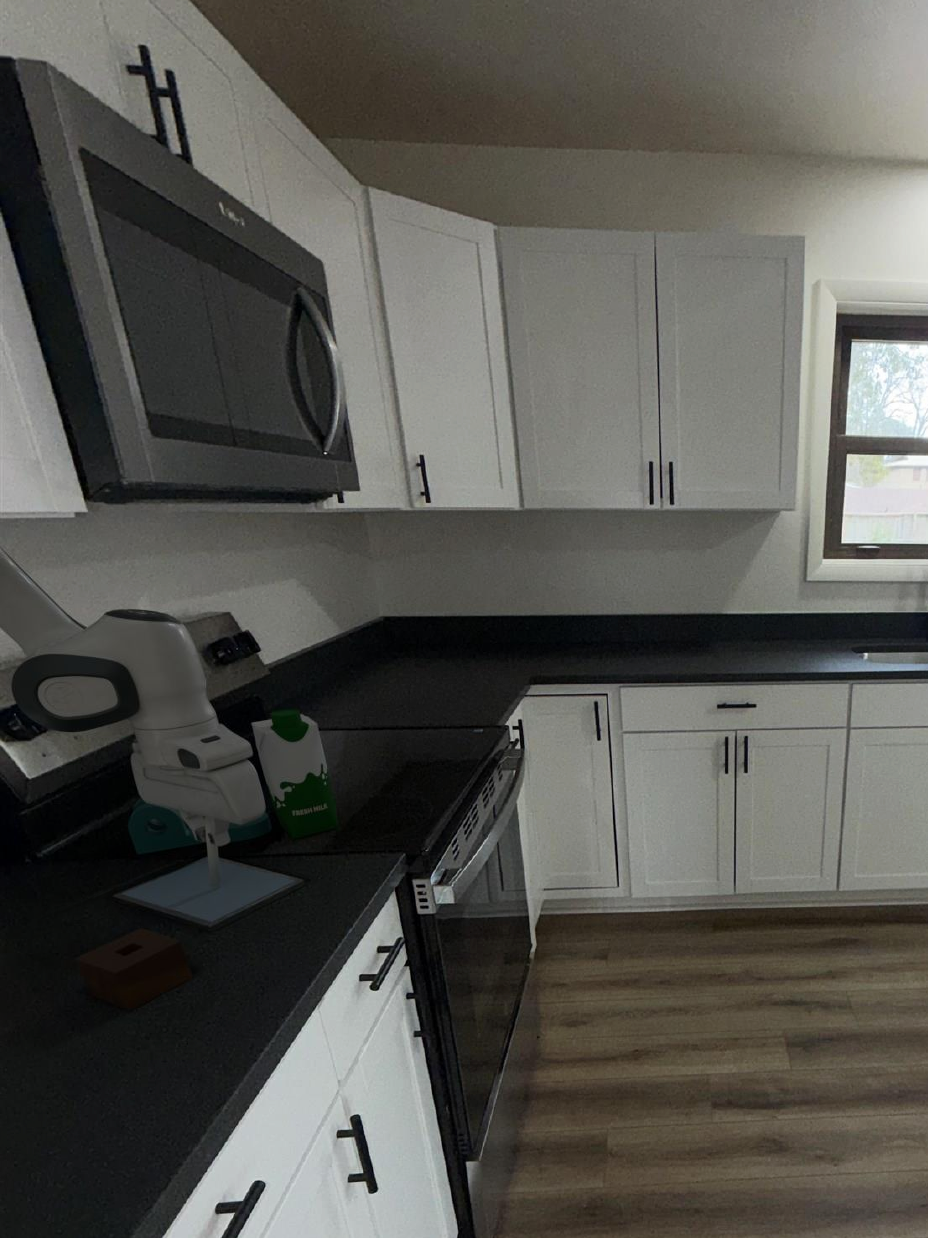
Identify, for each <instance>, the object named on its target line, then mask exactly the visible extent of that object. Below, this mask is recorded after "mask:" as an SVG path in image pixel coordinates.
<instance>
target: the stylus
mask: <svg viewBox="0 0 928 1238" xmlns="http://www.w3.org/2000/svg"><path fill="white" fill-rule="evenodd" d="M204 819H205V830H206V842H207V843H206V851H207V856H208V865H209V877H210V886H211V888H213V889H218V888H219V887H220V885H221V883H220V870H219V858H220V857H219V846H217V845H213V844H211V843H210V839H209V837H208V834H207V833H210V832H211V825H212V824H210V823H208V820H207V817H204Z"/></svg>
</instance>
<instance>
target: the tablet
mask: <svg viewBox="0 0 928 1238" xmlns="http://www.w3.org/2000/svg"><path fill="white" fill-rule="evenodd" d="M219 870H220V883H221V885H220V887H219V888H218V889H213V888H211V886H210V877H209V865H208V855H207V856H205V857H203V858H200V859H198V860H196V861H193V862H190V863H188V864H186V865H184V866H181V867H179V868H176V869H173V870H171V871H168V872H167V873H164V874H161V875H159V876H157V877H154V878H152V879H150V880H147V881H145V882H142V883H140V884H138V885H135V886H133V887H131V888H128V889H126V890H123V891H120V892H119V893H115V894H114V895H112V898H113V901H114V902H116V903H119V904H121V905H125V906H127V907H132V908H135V909H137V910H141V911H144V912H148V913H150V914H153V915H156V916H160V917H163V918H166V919H168V920H172V921H176V922H178V923H181V924H183V925H188V926H191V927H194V928H196V929H200V930H204V931H207V932H209V933H214V932H216V931H217V930H220V929H222V928H224V927H225V926H227V925H230V924H232V923H234V922H235V921H237V920H240V919H242V918H243V917H246V916H248V915H249V914H251V913H253V912H255V911H258V910H260V909H261V908H264V907H265V906H268V905H269V904H271V903H273V902H276V901H277V900H279V899H281V898H283V897H285V896H287V895H289V894H291V893H293V892H295V891H297V890H299V889H301V888H303V887H305V886H306V882H305V879H302V878H298V877H295V876H290V875H287V874H283V873H279V872H275V871H271V870H268V869H264V868H261V867H257V866H254V865H253V866H252V865H250V864H246V863H242V862H238V861H234V860H230V859H227V858H222V857H219Z"/></svg>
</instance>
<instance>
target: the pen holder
mask: <svg viewBox="0 0 928 1238" xmlns="http://www.w3.org/2000/svg"><path fill="white" fill-rule="evenodd" d="M75 961H76V963H77V966H78V968H79V970H80V972H81V975H82V977H83V980H84V982H85V984H86V987H87V989H88V991H89V994H90V996H92V997H94V998H96V999H99V1000H101V1001H104V1002H106V1003H108V1004H111V1005H114V1006H116V1007H119V1008H121V1009H123V1010H126V1011H129V1012H132V1011H134V1010H135V1009H137V1008H139V1007H141V1006H143V1005H144V1004H146V1003H148V1002H150V1001H152V1000H154V999H155V998H158V997H159V996H161V995H163V994H165V993H167V992H169V991H170V990H173V989H174V988H176V987H178V986H180V985H181V984H183V983H185V982H187V981H189V980H191V979H193V974H192V971H191V969H190V966H189V963H188V960H187V957H186V953H185V951H184V948H183V946H182V942H181V941H180V940H178V939H175V938H172V937H170V936H166V935H164V934H161V933H158V932H154V931H152V930H148V929H146V928H142V927H140V928H138V929H136V930H134V931H132V932H130V933H127V934H125V935H123V936H120V937H119V938H116V939H114V940H112V941H110V942H107V943H105V944H103V945H102V946H99V947H97V948H95V949H93V950H91V951H88V952H86V953H84V954H81V955H79V956H77V957H75Z"/></svg>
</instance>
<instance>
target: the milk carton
mask: <svg viewBox="0 0 928 1238" xmlns="http://www.w3.org/2000/svg"><path fill="white" fill-rule="evenodd" d="M251 728H252V730H253V731H252V732H253V736H254V741H255V748H256V749H257V752H258V758H259V762H260V765H261V769H262V772H263V777H264V781H265V783H266V787H267V791H268V794H269V797H270V801H271V804H272V807H273V810H274V812H275V815H276V818H277V819H278V822H279V824H280V827H281V828H282V829H283V830H284V831H285V832H286V833H287V834H288V835H289V836H290V837H291V838H292V839H293V840H296V839H300V838H304V837H308V836H312V835H315V834H316V835H317V834H319V833H323V832H327V831H331V830H335V829H339V827H340V826H339V821H338V813H337V805H336V800H335V795H334V790H333V787H332V781H331V777H330V773H329V769H328V765H327V761H326V756H325V751H324V747H323V743H322V740H321V739H322V738H321V736H320V731H319V726H318V723H317V722H316V721H314V720H313V719H312V718H310V717H309V716H305V715H304V714H302V713H301V712H300V710H299V709H297V708H295V709H294V708H288V709H287V708H286V709H279V710H275V711H272V712H271V713H270V719H266V720H260V721H254V722H251Z"/></svg>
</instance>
